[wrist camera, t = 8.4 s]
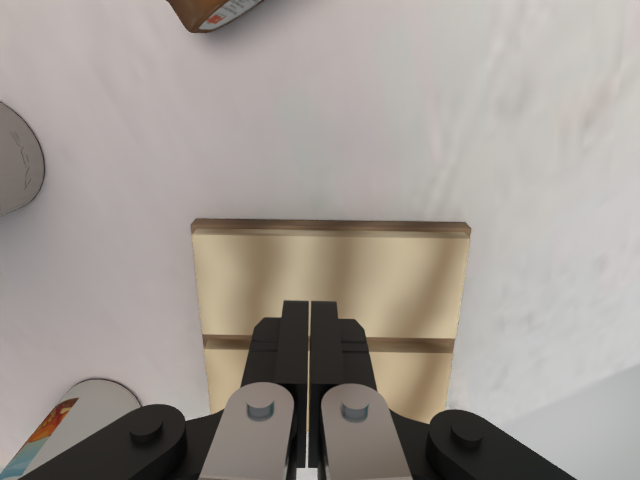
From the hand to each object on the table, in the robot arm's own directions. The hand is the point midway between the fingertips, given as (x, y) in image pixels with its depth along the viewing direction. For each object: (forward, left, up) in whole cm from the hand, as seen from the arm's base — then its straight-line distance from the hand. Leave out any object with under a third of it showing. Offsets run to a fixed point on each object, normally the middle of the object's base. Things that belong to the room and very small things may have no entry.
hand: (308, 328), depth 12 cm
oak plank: (+1, -9, -21) cm, 23 cm away
